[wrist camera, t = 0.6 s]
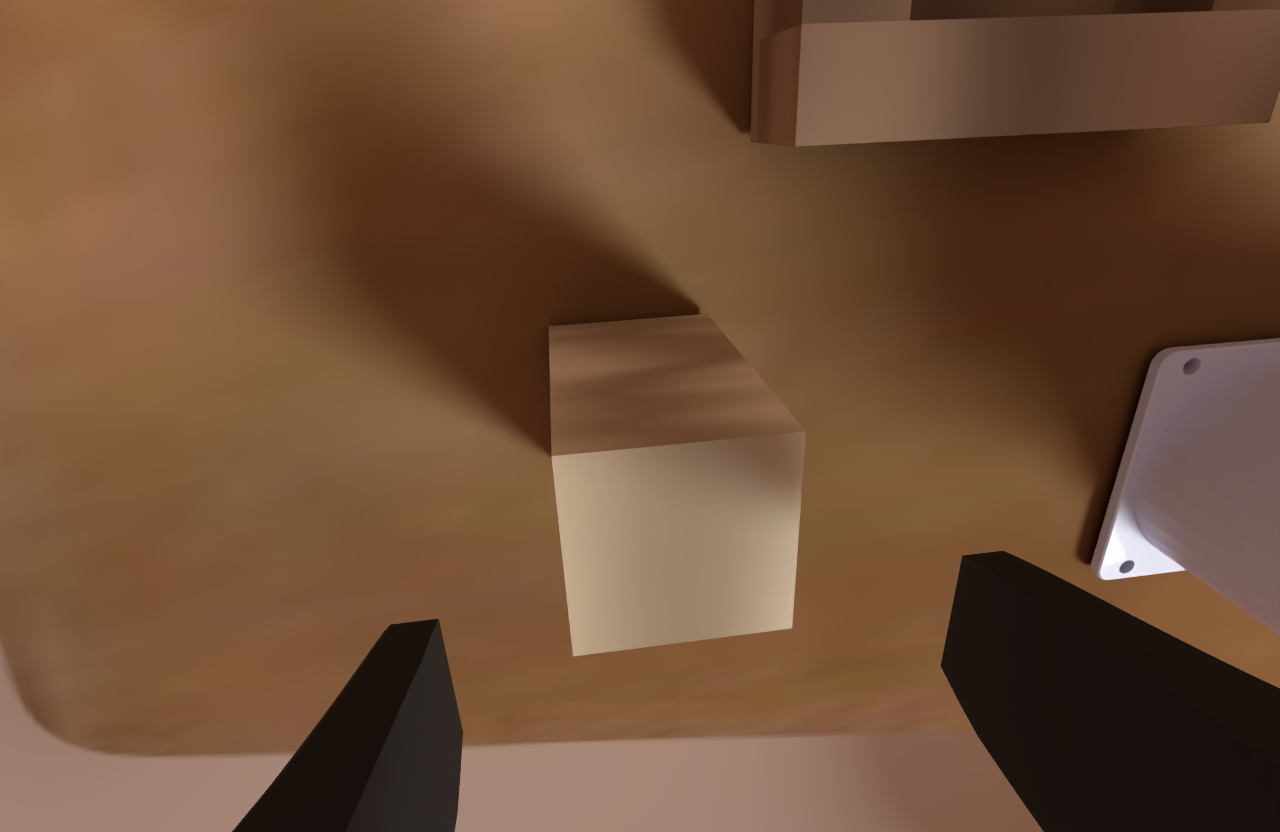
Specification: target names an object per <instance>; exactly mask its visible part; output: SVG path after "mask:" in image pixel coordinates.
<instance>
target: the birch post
mask: <svg viewBox="0 0 1280 832" xmlns="http://www.w3.org/2000/svg"><path fill="white" fill-rule="evenodd" d="M549 363H550V409H551V455H552V465H553V474H554V484H555V493H556V502H557V511H558V520H559V530H560V539H561V548H562V557H563V567H564V576H565V585H566V594H567V603H568V613H569V622H570V631H571V640H572V649H573V656H580V655H587V654H595V653H603V652H611V651H619V650H626V649H634V648H642V647H650V646H657V645H665V644H673V643H681V642H689V641H696V640H704V639H712V638H720V637H728V636H735V635H743V634H751V633H759V632H767V631H774V630H782V629H790V628H792V621H793V607H794V592H795V578H796V564H797V550H798V535H799V521H800V507H801V493H802V479H803V464H804V450H805V436H806V431H805V430H804V429H803V428H802V427H801V425H800V424H799V423H798V422H797V421H796V419H795V418H794V417H793V416H792V415H791V413H790V412H789V411H788V410H787V409H786V407H785V406H784V405H783V404H782V403H781V401H780V400H779V399H778V398H777V397H776V396H775V394H774V393H773V392H772V391H771V390H770V388H769V387H768V386H767V385H766V384H765V382H764V381H763V380H762V379H761V378H760V376H759V375H758V374H757V373H756V372H755V371H754V369H753V368H752V367H751V366H750V365H749V363H748V362H747V361H746V360H745V359H744V357H743V356H742V355H741V354H740V353H739V351H738V350H737V349H736V348H735V347H734V345H733V344H732V343H731V342H730V341H729V340H728V338H727V337H726V336H725V335H724V334H723V332H722V331H721V330H720V329H719V328H718V326H717V325H716V324H715V323H714V322H713V320H712V319H711V318H710V317H709V316H708V314H699V315H686V316H673V317H660V318H647V319H634V320H621V321H608V322H595V323H582V324H569V325H556V326H549Z"/></svg>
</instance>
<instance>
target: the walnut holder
mask: <svg viewBox="0 0 1280 832" xmlns="http://www.w3.org/2000/svg"><path fill="white" fill-rule="evenodd" d="M1279 90H1280V0H754V27H753V65H752V103H751V141H750V142H758V143H767V144H777V145H786V146H815V145H835V144H854V143H874V142H894V141H914V140H933V139H953V138H973V137H992V136H1012V135H1032V134H1052V133H1071V132H1091V131H1111V130H1130V129H1150V128H1170V127H1190V126H1209V125H1229V124H1249V123H1269V121H1270V118H1271V115H1272V112H1273V109H1274V106H1275V103H1276V100H1277V97H1278V94H1279Z"/></svg>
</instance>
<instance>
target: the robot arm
mask: <svg viewBox="0 0 1280 832" xmlns="http://www.w3.org/2000/svg"><path fill="white" fill-rule="evenodd" d="M1186 362H1187V364H1186ZM1185 364H1186V366H1185V367H1184V365H1185ZM1183 367H1184V368H1183ZM1091 570H1092V572H1093V573H1094V574H1096V575H1097V576H1098V577H1099V578H1101V579H1103V580H1111V579H1119V578H1127V577H1135V576H1143V575H1151V574H1159V573H1167V572H1175V571H1183V570H1187V571H1188V572H1190V573H1191V574H1193V575H1194V576H1196V577H1197V578H1198V579H1200V580H1201V581H1203V582H1204V583H1206V584H1207V585H1208V586H1210V587H1211V588H1213V589H1214V590H1216V591H1217V592H1218V593H1220V594H1221V595H1223V596H1224V597H1226V598H1227V599H1228V600H1230V601H1231V602H1233V603H1234V604H1235V605H1237V606H1238V607H1240V608H1241V609H1243V610H1244V611H1245V612H1247V613H1248V614H1250V615H1251V616H1253V617H1254V618H1255V619H1257V620H1258V621H1260V622H1261V623H1263V624H1264V625H1265V626H1267V627H1268V628H1270V629H1271V630H1273V631H1274V632H1275V633H1277V634H1278V635H1280V338H1274V339H1262V340H1251V341H1240V342H1228V343H1217V344H1206V345H1194V346H1183V347H1172V348H1167V349H1164V350H1162V351H1161V352H1159V353H1158V354H1157V355H1156V356H1155V357H1154V358H1153V359H1152V361H1151V364H1150V366H1149V370H1148V373H1147V376H1146V380H1145V383H1144V386H1143V390H1142V393H1141V397H1140V400H1139V403H1138V407H1137V410H1136V413H1135V417H1134V420H1133V424H1132V427H1131V430H1130V434H1129V437H1128V440H1127V444H1126V447H1125V451H1124V454H1123V457H1122V461H1121V464H1120V467H1119V471H1118V474H1117V478H1116V481H1115V484H1114V488H1113V491H1112V494H1111V498H1110V501H1109V505H1108V508H1107V511H1106V515H1105V518H1104V521H1103V525H1102V528H1101V532H1100V535H1099V538H1098V542H1097V545H1096V548H1095V552H1094V555H1093V559H1092V562H1091ZM941 667H942V669H943V671H944V673H945V675H946V677H947V679H948V681H949V683H950V685H951V687H952V689H953V691H954V693H955V695H956V697H957V699H958V701H959V703H960V705H961V706H962V708H963V710H964V712H965V714H966V715H967V717H968V719H969V721H970V723H971V725H972V726H973V728H974V730H975V732H976V734H977V735H978V737H979V738H980V740H981V741H982V743H983V744H984V746H985V747H986V749H987V750H988V752H989V753H990V755H991V756H992V758H993V759H994V760H995V762H996V763H997V765H998V766H999V768H1000V769H1001V771H1002V772H1003V774H1004V775H1005V777H1006V778H1007V780H1008V781H1009V783H1010V784H1011V785H1012V787H1013V788H1014V789H1015V791H1016V793H1017V794H1018V795H1019V797H1020V798H1021V800H1022V801H1023V803H1024V804H1025V806H1026V807H1027V808H1028V810H1029V811H1030V812H1031V814H1032V815H1033V817H1034V818H1035V820H1036V821H1037V823H1038V824H1039V826H1040V827H1041V828H1042V830H1043V831H1044V832H1280V688H1278V687H1275V686H1273V685H1271V684H1269V683H1267V682H1265V681H1263V680H1261V679H1258V678H1256V677H1254V676H1252V675H1250V674H1248V673H1246V672H1244V671H1241V670H1239V669H1237V668H1235V667H1233V666H1231V665H1229V664H1227V663H1225V662H1223V661H1221V660H1219V659H1217V658H1215V657H1213V656H1211V655H1209V654H1207V653H1205V652H1203V651H1201V650H1199V649H1197V648H1195V647H1193V646H1191V645H1189V644H1187V643H1185V642H1183V641H1181V640H1179V639H1177V638H1175V637H1173V636H1171V635H1169V634H1167V633H1165V632H1163V631H1161V630H1160V629H1158V628H1156V627H1154V626H1152V625H1150V624H1148V623H1146V622H1144V621H1142V620H1140V619H1138V618H1136V617H1134V616H1132V615H1130V614H1129V613H1127V612H1125V611H1123V610H1121V609H1119V608H1117V607H1115V606H1113V605H1111V604H1109V603H1107V602H1105V601H1104V600H1102V599H1100V598H1098V597H1096V596H1094V595H1092V594H1090V593H1088V592H1086V591H1084V590H1082V589H1080V588H1079V587H1077V586H1075V585H1073V584H1071V583H1069V582H1067V581H1065V580H1063V579H1061V578H1059V577H1057V576H1055V575H1053V574H1051V573H1049V572H1047V571H1045V570H1043V569H1041V568H1039V567H1037V566H1035V565H1033V564H1031V563H1029V562H1027V561H1025V560H1023V559H1020V558H1018V557H1016V556H1014V555H1011V554H1009V553H1007V552H1005V551H998V552H990V553H981V554H973V555H965V556H962V561H961V566H960V571H959V576H958V581H957V586H956V591H955V596H954V601H953V606H952V611H951V617H950V622H949V627H948V632H947V637H946V642H945V647H944V652H943V657H942V662H941ZM462 738H463V730H462V726H461V721H460V716H459V712H458V707H457V702H456V698H455V693H454V688H453V684H452V679H451V674H450V670H449V665H448V660H447V655H446V651H445V646H444V641H443V637H442V632H441V627H440V623H439V619H433V620H425V621H417V622H409V623H400V624H392V625H390V626H389V627H388V628H387V629H386V630H385V631H384V632H383V634H382V635H381V636H380V638H379V639H378V641H377V642H376V643H375V645H374V646H373V648H372V649H371V650H370V652H369V653H368V655H367V656H366V658H365V659H364V660H363V662H362V663H361V665H360V666H359V667H358V669H357V670H356V672H355V673H354V675H353V676H352V677H351V679H350V680H349V682H348V683H347V684H346V686H345V687H344V689H343V690H342V691H341V693H340V694H339V695H338V697H337V698H336V699H335V701H334V702H333V704H332V705H331V706H330V708H329V709H328V710H327V712H326V713H325V715H324V716H323V717H322V719H321V720H320V721H319V723H318V724H317V725H316V727H315V728H314V729H313V730H312V732H311V733H310V734H309V736H308V737H307V738H306V740H305V741H304V742H303V744H302V745H301V746H300V748H299V749H298V750H297V751H296V753H295V754H294V755H293V757H292V758H291V759H290V761H289V762H288V763H287V765H286V766H285V767H284V769H283V770H282V771H281V772H280V774H279V775H278V776H277V778H276V779H275V780H274V782H273V783H272V784H271V785H270V787H269V788H268V789H267V790H266V791H265V793H264V794H263V795H262V796H261V798H260V799H259V800H258V801H257V802H256V804H255V805H254V806H253V807H252V808H251V810H250V811H249V812H248V813H247V814H246V816H245V817H244V818H243V819H242V821H241V822H240V823H239V824H238V825H237V827H236V828H235V829H234V830H233V831H232V832H454V831H455V825H456V819H457V812H458V798H459V785H460V771H461V754H462Z"/></svg>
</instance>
